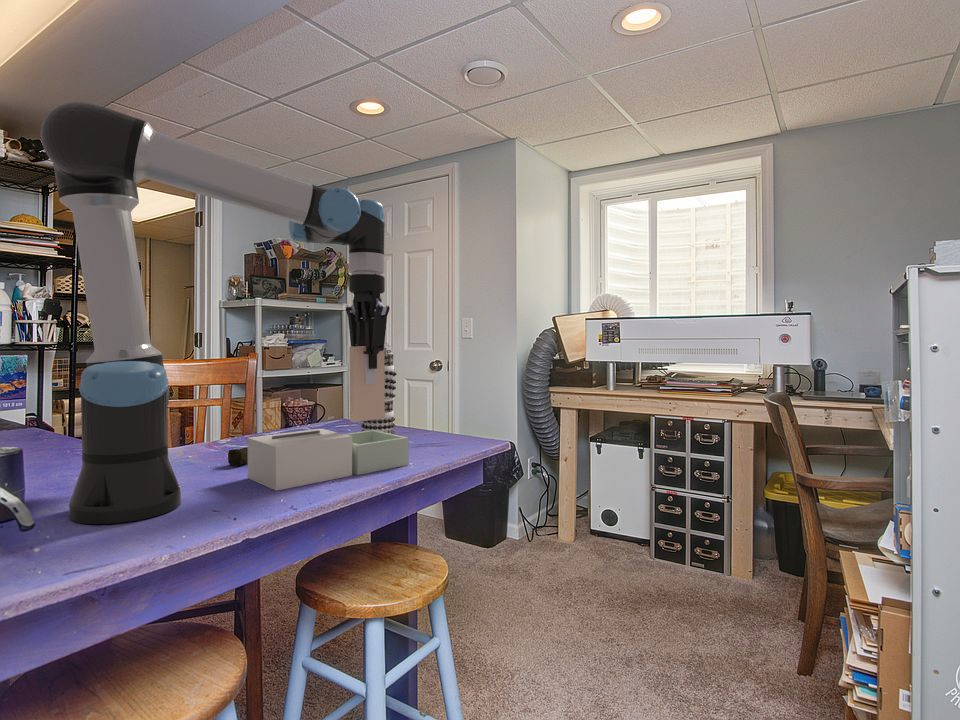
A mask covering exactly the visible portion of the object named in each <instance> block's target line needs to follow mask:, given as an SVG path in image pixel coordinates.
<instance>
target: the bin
mask: <svg viewBox="0 0 960 720" xmlns="http://www.w3.org/2000/svg"><path fill="white" fill-rule="evenodd" d="M345 434H346V435H350V436H352V475H353V474H354V475H355V476H356V475H357V476H360V475H364V474H371V473H374V472H379V471H384V470H389V469H395V468H398V467H405V466H409V454H410V453H409V452H410V451H409V449H410V448H409V446H410V445H409V443H410V442H409V439H410V438H409V437H407V436H403V435H398V434H390V433H385V432H381V431H376V430H370V431H363V432H361V431H357V432H349V433H345Z"/></svg>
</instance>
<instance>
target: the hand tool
mask: <svg viewBox="0 0 960 720" xmlns="http://www.w3.org/2000/svg"><path fill="white" fill-rule="evenodd" d="M227 463H228V464H229V466H230V467H236V468H237V467H241V466H242V465H244V466H245V465H247V464H248V446H247V447H242V448H239V449H237V448H235V449H233V448H232V449H229V450H228V452H227Z"/></svg>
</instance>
